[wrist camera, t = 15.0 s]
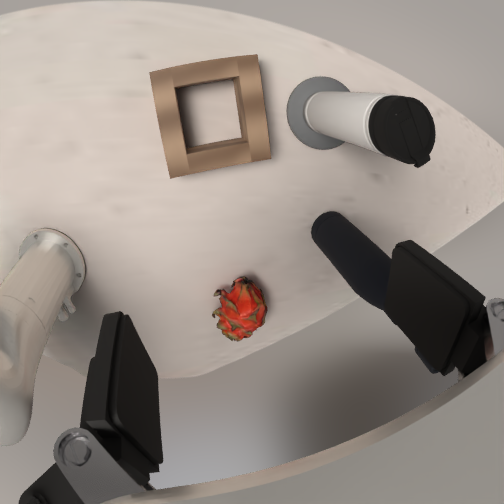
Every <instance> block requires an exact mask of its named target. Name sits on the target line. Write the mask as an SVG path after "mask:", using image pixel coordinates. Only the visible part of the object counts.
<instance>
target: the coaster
mask: <svg viewBox="0 0 504 504" xmlns="http://www.w3.org/2000/svg"><path fill="white" fill-rule="evenodd" d="M321 91H325V92H326V91H333V92H350V91H349V90H348V89H347V87H346V86H344V85H343V84H342V83H341V82H339V81H337V80H335V79H333V78H329V77H313V78H309V79H307V80H305V81H303V82H301V83H300V84H299V85H298V86H297V87H296V88H295V89H294V90H293V92H292V93H291V95H290V98H289V100H288V104H287V119H288V123H289V126H290V128H291V130H292V132H293V133H294V135H295V136H296V137H297V138H298V139H299V140H300V141H301V142H303V143H304V144H306V145H308V146H310V147H312V148H316V149H322V150H324V149H332V148H335V147H337V146H339V145H341V144H342V143H344V142H345V141H342V140H339V139H336V138H333V137H330V136H327V135H324V134H320V133H317V132H315V131H313V130H311V129H310V128H309V127H308V126H307V124H306V123H305V121H304V118H303V105H304V103H305V101H306V99H307V98H308V97H309V96H310V95H312V94H313V93H316V92H321Z"/></svg>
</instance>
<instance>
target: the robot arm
mask: <svg viewBox="0 0 504 504" xmlns="http://www.w3.org/2000/svg"><path fill="white" fill-rule="evenodd" d="M67 243H68V244H67ZM84 276H85V264H84V260H83V257H82V255H81V252H80V251H79V249H78V248H77V246H76V245H75V244H74V243H73V241H72V240H70V239H69V238H68V237H67V236H66V235H64V234H62V233H61V232H58V231H56V230H53V229H39V230H35V231H33V232H32V233H30V234H29V235H28V236H27V237H26V238H25V240H24V241H23V243H22V245H21V247H20V251H19V261H18V262H17V264H16V265H15V266H14V268H13V269H12V270H11V272H10V273H9V274H8V276H7V277H6V278H5V280H4V281H3V282H2V284H1V285H0V445H2V446H10V445H14V444H16V443H18V442H19V441H21V440H22V438H23V437H24V436H25V434H26V432H27V430H28V427H29V424H30V420H31V415H32V406H33V391H34V383H35V376H36V372H37V368H38V365H39V362H40V359H41V355H42V353H43V350H44V347H45V345H46V342H47V340H48V337H49V335H50V332H51V330H52V327H53V325H54V322H55V320H56V318H57V317H58V318H59V320H60V321H61V322H64V321H66V320H67V319H68V318H69V316H68V314H67V312H66V310H65V309H64V307H63V306H62V304H63V303H65V305H66V308H67V309H68V311H69V313H74V312H75V311H76V308H75V307H74V305H73V303H72V302H71V296H72V295H73V294H74V293H76V292H77V290H78V289H79V288H80V286H81V284H82V282H83V280H84ZM484 300H485V296H483V295H482V294H481V293H480V292H479V291H478V290H476V289H475V288H474V287H473V286H471V285H470V284H469V283H468V282H467V281H465V280H464V279H463V278H462V277H460V276H459V275H458V274H456V273H455V272H454V271H453V270H451V269H450V268H449V267H447V266H446V265H444V264H443V263H442V262H441V261H440V260H438V259H437V258H436V257H434V256H433V255H432V254H430V253H429V252H427V251H426V250H425V249H423V248H422V247H421V246H419V245H418V244H416V243H415V242H414V241H412V240H407V241H404V242H400V243H398V244H396V246H395V248H394V249H393V252H392V260H391V267H390V274H389V281H388V287H387V294H386V299H385V311H386V313H387V314H388V316H389V317H390V318H391V319H392V320H393V321H394V322H395V323H396V325H397V326H398V327H399V328H400V329H401V330H402V331H403V332H404V334H405V335H406V336H407V337H408V338H409V339H410V341H411V342H412V343H413V344H414V345H415V346H416V348H417V349H418V350H419V351H420V352H421V353H422V355H423V356H424V357H425V358H426V359H427V361H428V362H429V363H430V364H431V365H432V367H433V368H434V369H435V370H437V371H440V372H441V374H442V375H443V376H445V375H447V374H448V373H450V372H451V371H453V370H454V368H455V366H456V367H457V368H458V383H456V384H454V385H453V386H451V387H450V388H448V389H447V390H445V391H444V392H442V393H441V394H439V395H437V396H436V397H434V398H432V399H431V400H429V401H427V402H426V403H424V404H422V405H420V406H419V407H417V408H415V409H413V410H412V411H410V412H408V413H406V414H404V415H403V416H401V417H399V418H397V419H395V420H393V421H391V422H389V423H387V424H385V425H383V426H381V427H379V428H376V429H374V430H372V431H370V432H368V433H366V434H363V435H361V436H359V437H357V438H354V439H352V440H350V441H347V442H345V443H342V444H340V445H337V446H335V447H332V448H329V449H327V450H324V451H322V452H319V453H316V454H313V455H311V456H307V457H304V458H301V459H298V460H295V461H292V462H289V463H286V464H283V465H279V466H275V467H272V468H268V469H264V470H260V471H256V472H253V473H249V474H244V475H239V476H235V477H230V478H226V479H221V480H216V481H210V482H205V483H199V484H192V485H186V486H178V487H172V488H167V489H166V488H165V489H158V490H156V489H155V488H154V487H153V486H152V485H151V484H150V483H149V480H150V475H149V473H154V472H159V464H161V463H163V452H162V441H161V428H160V413H159V393H158V375H157V371H156V369H155V367H154V365H153V363H152V361H151V359H150V357H149V355H148V353H147V351H146V349H145V347H144V345H143V343H142V341H141V339H140V337H139V335H138V333H137V331H136V329H135V327H134V325H133V323H132V321H131V318H130V317H129V315H124V314H123V313H122V312H121V311H119V312H114V313H110V314H105V315H104V317H103V321H102V326H101V330H100V335H99V340H98V344H97V349H96V354H95V357H93V358H92V359H91V361H90V365H89V370H88V376H87V382H86V387H85V393H84V400H83V407H82V414H81V423H80V428H72V429H69V430H67V431H65V432H63V433H62V434H61V435H60V436H59V437H58V439H57V441H56V443H55V445H54V450H53V452H54V459H55V461H56V463H55V464H53V466H51V467H50V468H49V469H48V470H47V471H46V472H45V473H44V474H43V475H42V476H41V477H40V478H38V479H37V481H35V482H34V483H33V484H32V485H31V486H30V487H29V488H28V489H27V490H26V491H24V493H23V494H22V495H21V497H20V500H19V504H504V299H501V298H494V299H491V300H490V301H489V302H488V303H487V305H486V307H485V306H484V305H483V303H484Z"/></svg>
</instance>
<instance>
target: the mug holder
mask: <svg viewBox="0 0 504 504" xmlns="http://www.w3.org/2000/svg"><path fill="white" fill-rule="evenodd" d="M149 73H150V79H151V85H152V91H153V96H154V102H155V107H156V113H157V118H158V123H159V128H160V133H161V138H162V143H163V148H164V152H165V157H166V162H167V166H168V171H169V175H170V179H171V178H175V177H179V176H184V175H188V174H193V173H198V172H202V171H207V170H212V169H217V168H222V167H227V166H232V165H238V164H243V163H249V162H255V161H261V160H267V159H271V153H270V144H269V136H268V128H267V120H266V113H265V105H264V98H263V90H262V83H261V76H260V69H259V62H258V55H257V54H256V55H246V56H236V57H228V58H221V59H214V60H208V61H202V62H196V63H190V64H185V65H180V66H175V67H171V68H166V69H162V70H157V71H153V72H149ZM229 79H233V82H234V88H235V95H236V102H237V108H238V115H239V122H240V129H241V135H242V138H237V139H231V140H225V141H220V142H214V143H209V144H204V145H199V146H195V147H190V148H186V143H185V138H184V132H183V127H182V122H181V116H180V111H179V105H178V99H177V94H176V89H178V88H183V87H188V86H193V85H198V84H204V83H209V82H215V81H222V80H229Z"/></svg>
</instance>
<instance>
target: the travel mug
mask: <svg viewBox="0 0 504 504" xmlns="http://www.w3.org/2000/svg"><path fill="white" fill-rule="evenodd" d="M303 118H304V121H305V123H306V124H307V126H308V127H309V128H310V129H311V130H313V131H315V132H317V133H320V134H324V135H327V136H330V137H333V138H336V139H339V140H342V141H345V142H348V143H351V144H354V145H357V146H360V147H363V148H366V149H368V150H371V151H374V152H376V153H379V154H382V155H384V156H388V157H391V158H394V159H396V160H399V161H401V162H404V163H407V164H415V165H414V166H415V167H417V168H419V167H421V166H422V165H424V164H426V163H427V162H428V161H430V156H429V154H430V153H431V151H432V149H433V146H434V142H435V125H434V121H433V118H432V116H431V114H430V112H429V110H428V109H427V107H426V106H425V105H424V104H423V103H422V102H420V101H419V100H417V99H415V98H411V97H405V96H398V95H393V94H381V93H365V92H333V91H326V92H325V91H321V92H316V93H313V94H312V95H310V96H309V97H308V98H307V99H306V101H305V103H304V105H303Z"/></svg>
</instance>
